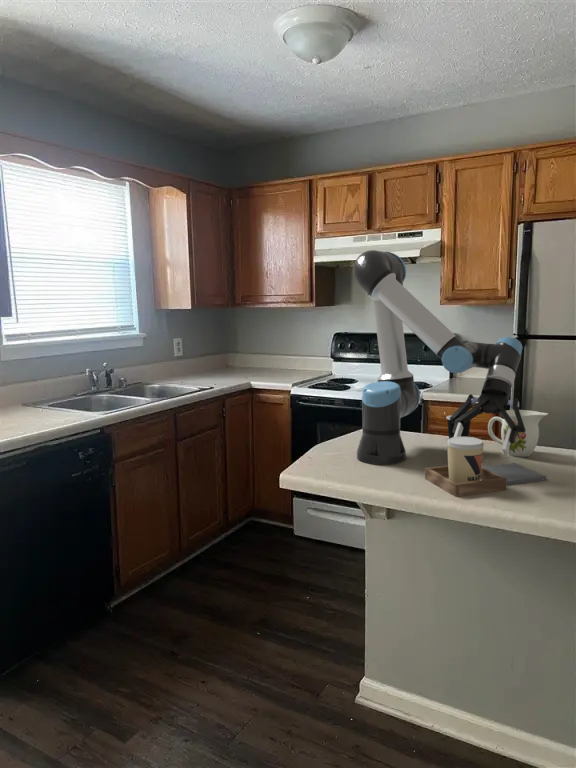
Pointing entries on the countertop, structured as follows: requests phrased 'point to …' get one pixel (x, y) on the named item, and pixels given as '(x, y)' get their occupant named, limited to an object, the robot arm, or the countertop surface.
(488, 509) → the countertop surface
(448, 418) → the dixie cup
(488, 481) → the cup holder
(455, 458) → the coffee cup
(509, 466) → the rubber mat
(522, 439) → the pitcher
